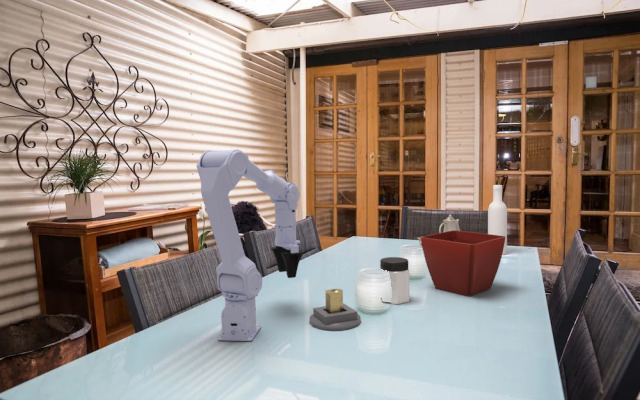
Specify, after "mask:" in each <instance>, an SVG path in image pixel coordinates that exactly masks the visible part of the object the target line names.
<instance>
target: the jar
mask: <svg viewBox="0 0 640 400" xmlns="http://www.w3.org/2000/svg"><path fill="white" fill-rule="evenodd" d="M379 261H380V262H379V263H380V267H379V270H380V269H383V270H384V271H385V270H387V272H388V271H389V274H390V279H391V287H392V298H391V304H392V305H402V304H406V303H409V302H410V269H409V259H407V258H405V257H400V256H399V257H397V256H392V257H391V256H390V257H389V256H388V257H387V256H386V257H382V258H381V259H380V260H379Z"/></svg>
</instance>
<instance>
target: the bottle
mask: <svg viewBox="0 0 640 400" xmlns="http://www.w3.org/2000/svg"><path fill="white" fill-rule="evenodd" d="M492 191H493V192H492V194H493V195H492V201H491V203H489V206H488V208H487V234H491V235H499V236H505V243H504V248H503V253H502V256H506V255H507V253H508V207H507V205H506V203H505V202H504V201H503V185H502V184H494V185H492Z"/></svg>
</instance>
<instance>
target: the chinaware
mask: <svg viewBox="0 0 640 400" xmlns="http://www.w3.org/2000/svg"><path fill="white" fill-rule="evenodd" d="M459 221H460V218H456V219H455V218H454V217H453V216H452V214H449V215H448V217H446V218H445V219H443V222H442V223H441V224H440V225H439V227H438V228H439V229H438V233H442V232H447V231H453V230H457V231H461V229H460V226H459ZM442 227H443V231H442ZM421 237H422V236H420V237H419V236H418V237H416V238H417V240H418V241H419V246H420V245H421V247H422V243H421Z"/></svg>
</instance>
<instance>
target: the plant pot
mask: <svg viewBox="0 0 640 400" xmlns="http://www.w3.org/2000/svg"><path fill="white" fill-rule="evenodd" d="M420 237H421V243H422V246H421V248H422V252H423V253H422V254H423V256H424V260H425V264H426V267H427V269H428V273H429V276H430V278H431V281H432V285H433V286H434V288H435V289H438V290H442V291H446V292H451V293H455V294H458V295H463V296H466V297H471V296H473V295H476V294H479V293H481V292H484V291H487V290H489V289H491V288H492V285H493V284H494V281H495V278H496V276H497V274H498V270H499V268H500V263H501V260H502V258H503V257H502V256H503V255H502V253H503V248H504V243H505V236H499V235H491V234H488V233H482V232H481V233H480V232H471V231H464V230H460V231H457V230H453V231H447V232H443V231H441V233H439V232H438V233H433V234H427V235H424V236H423V235H422V236H420Z"/></svg>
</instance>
